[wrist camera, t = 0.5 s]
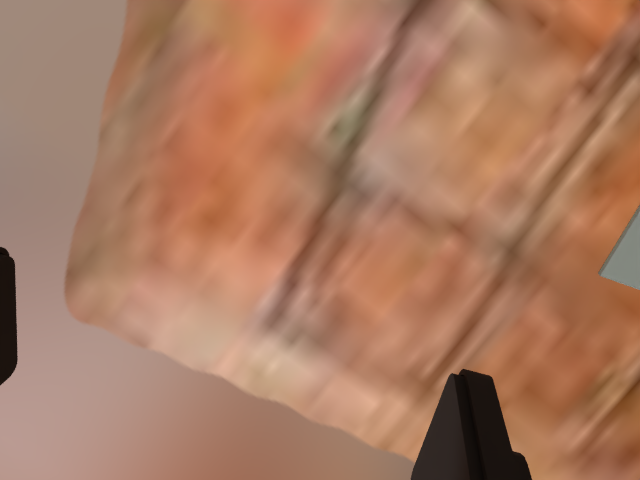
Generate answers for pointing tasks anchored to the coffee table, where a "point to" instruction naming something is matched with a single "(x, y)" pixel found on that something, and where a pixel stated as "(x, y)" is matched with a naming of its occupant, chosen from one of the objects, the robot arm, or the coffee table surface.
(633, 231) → the rubber mat
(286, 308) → the coffee table surface
